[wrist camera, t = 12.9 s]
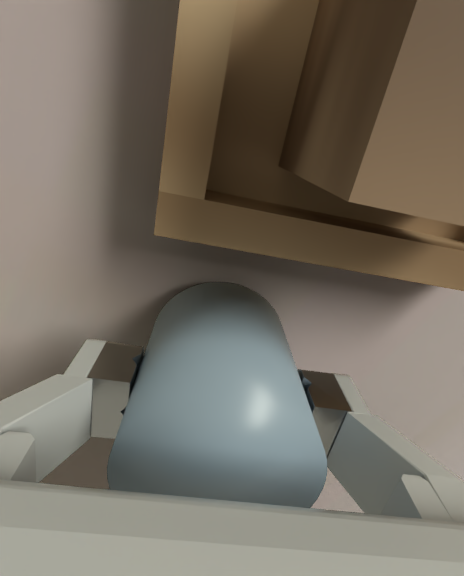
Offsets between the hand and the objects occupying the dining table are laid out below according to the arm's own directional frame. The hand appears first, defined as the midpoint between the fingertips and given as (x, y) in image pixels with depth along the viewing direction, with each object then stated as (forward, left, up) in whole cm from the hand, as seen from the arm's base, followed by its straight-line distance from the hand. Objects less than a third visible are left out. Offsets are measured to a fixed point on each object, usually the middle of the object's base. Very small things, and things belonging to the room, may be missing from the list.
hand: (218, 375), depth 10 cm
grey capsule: (0, 0, -2) cm, 2 cm away
